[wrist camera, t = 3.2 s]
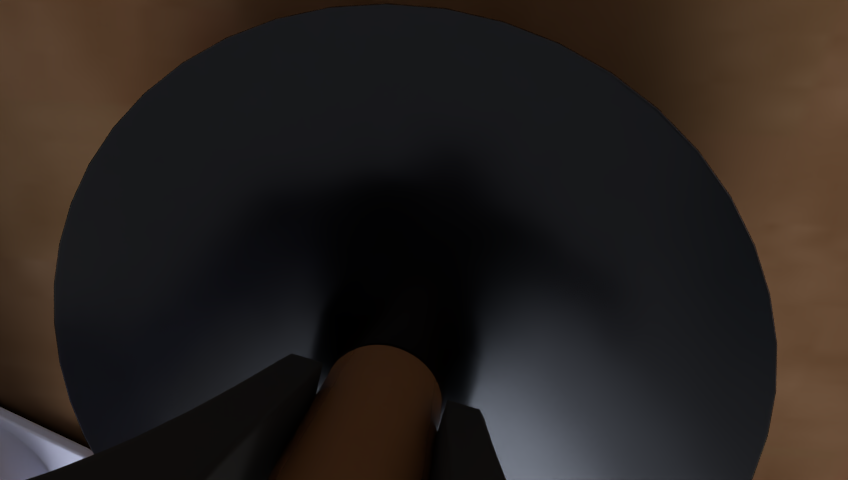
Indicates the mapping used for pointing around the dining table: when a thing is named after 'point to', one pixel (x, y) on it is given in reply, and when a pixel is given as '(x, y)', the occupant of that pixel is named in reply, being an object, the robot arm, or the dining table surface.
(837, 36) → the dining table surface
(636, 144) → the pan lid
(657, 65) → the dining table surface
